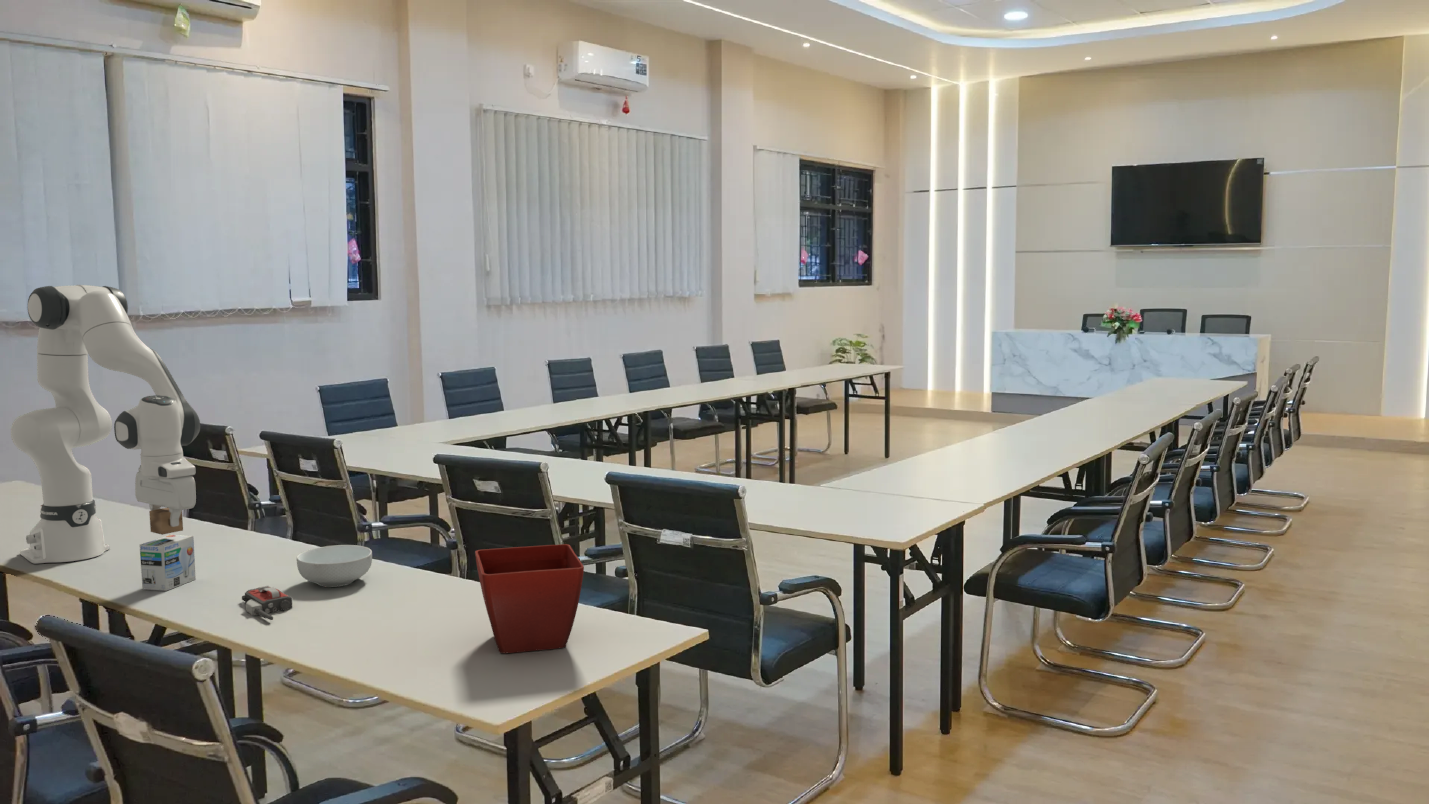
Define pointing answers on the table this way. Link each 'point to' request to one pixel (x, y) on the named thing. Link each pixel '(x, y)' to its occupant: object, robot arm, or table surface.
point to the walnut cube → (163, 522)
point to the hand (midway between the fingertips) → (166, 524)
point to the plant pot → (530, 595)
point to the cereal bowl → (334, 564)
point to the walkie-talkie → (266, 601)
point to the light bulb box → (167, 562)
